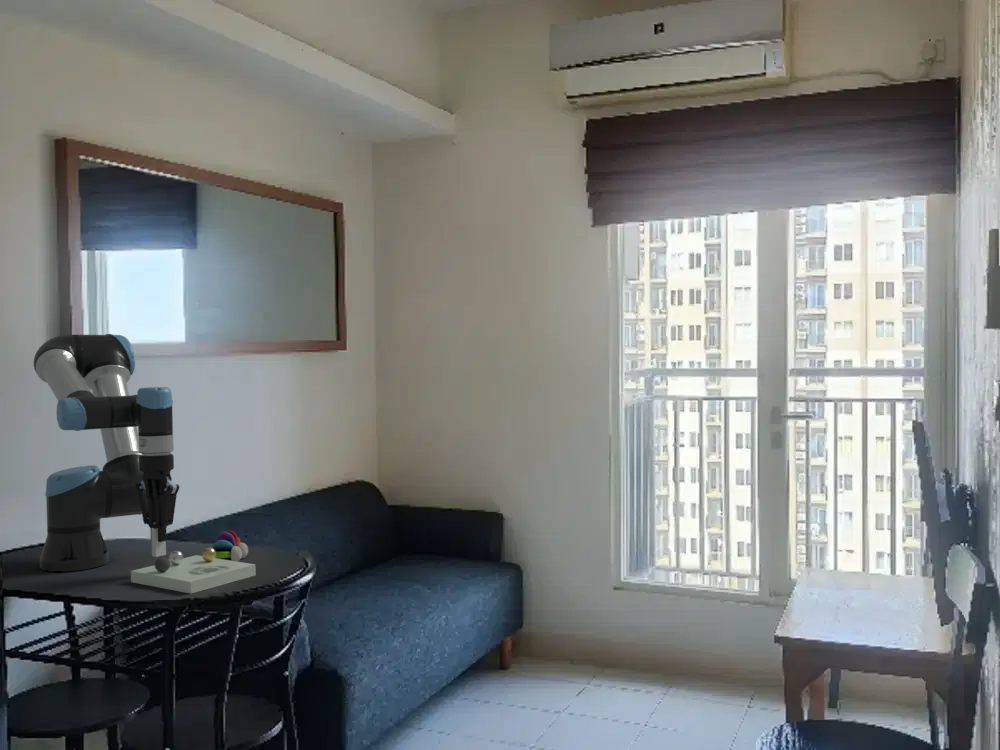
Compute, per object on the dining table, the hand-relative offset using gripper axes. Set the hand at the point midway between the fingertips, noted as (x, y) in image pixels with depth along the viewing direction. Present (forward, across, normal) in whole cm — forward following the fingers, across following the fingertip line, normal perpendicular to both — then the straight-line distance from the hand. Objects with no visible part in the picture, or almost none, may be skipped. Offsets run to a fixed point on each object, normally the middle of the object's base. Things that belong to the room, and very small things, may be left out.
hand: (159, 555), depth 212 cm
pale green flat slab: (+4, +12, 0) cm, 12 cm away
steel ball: (0, +6, 0) cm, 6 cm away
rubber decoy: (0, +9, -6) cm, 11 cm away
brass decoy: (0, +10, +6) cm, 12 cm away
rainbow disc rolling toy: (+4, +4, +17) cm, 18 cm away
